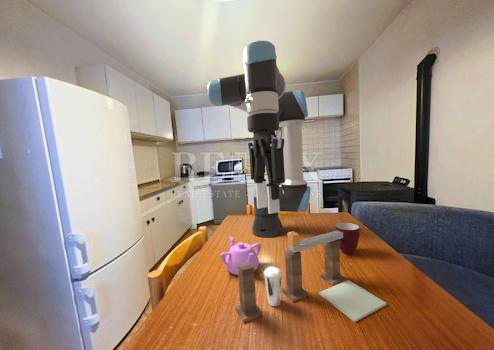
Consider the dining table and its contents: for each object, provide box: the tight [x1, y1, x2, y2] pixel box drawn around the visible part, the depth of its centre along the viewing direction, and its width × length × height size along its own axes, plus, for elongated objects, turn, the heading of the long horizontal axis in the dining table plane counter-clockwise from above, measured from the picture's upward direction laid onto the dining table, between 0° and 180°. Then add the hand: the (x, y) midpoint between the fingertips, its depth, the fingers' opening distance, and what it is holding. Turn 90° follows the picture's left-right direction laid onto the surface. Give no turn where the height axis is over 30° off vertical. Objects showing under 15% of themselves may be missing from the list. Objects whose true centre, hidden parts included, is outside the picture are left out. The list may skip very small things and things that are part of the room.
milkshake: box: [259, 266, 283, 307], centre depth 56 cm, size 4×5×10 cm
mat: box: [318, 279, 387, 323], centre depth 55 cm, size 11×11×1 cm
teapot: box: [219, 235, 262, 276], centre depth 74 cm, size 12×14×9 cm
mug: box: [334, 222, 360, 255], centre depth 79 cm, size 10×8×10 cm
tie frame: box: [234, 240, 346, 323], centre depth 58 cm, size 5×33×12 cm, turn 115°
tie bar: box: [286, 230, 343, 253], centre depth 61 cm, size 2×18×5 cm, turn 115°
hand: (267, 209), depth 54 cm, fingers open, 5 cm apart
